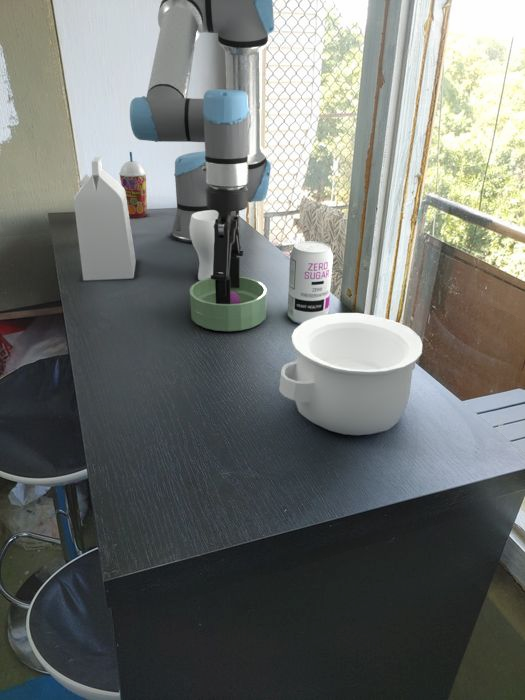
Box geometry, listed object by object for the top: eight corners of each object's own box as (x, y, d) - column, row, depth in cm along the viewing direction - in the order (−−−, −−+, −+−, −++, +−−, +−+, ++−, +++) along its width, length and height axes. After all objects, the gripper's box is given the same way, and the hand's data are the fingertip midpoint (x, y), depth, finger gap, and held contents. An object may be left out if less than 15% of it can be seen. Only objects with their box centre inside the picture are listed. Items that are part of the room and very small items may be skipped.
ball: (218, 308, 109) (218, 286, 106) (242, 310, 108) (242, 287, 106) (214, 318, 104) (213, 295, 102) (238, 320, 104) (238, 296, 101)
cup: (229, 288, 120) (229, 223, 113) (185, 283, 122) (182, 219, 114) (240, 272, 129) (240, 211, 122) (199, 268, 131) (197, 208, 124)
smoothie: (119, 218, 171) (112, 153, 161) (129, 211, 178) (123, 149, 168) (144, 219, 170) (138, 154, 160) (153, 213, 177) (148, 150, 167)
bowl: (199, 299, 114) (198, 273, 111) (269, 304, 112) (270, 277, 110) (183, 331, 101) (181, 302, 98) (261, 336, 99) (262, 307, 96)
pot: (311, 467, 67) (318, 387, 62) (257, 397, 81) (258, 327, 75) (444, 426, 76) (461, 352, 70) (374, 369, 89) (383, 303, 83)
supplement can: (305, 306, 112) (309, 237, 105) (335, 318, 107) (342, 247, 100) (279, 316, 107) (281, 245, 100) (309, 330, 102) (314, 256, 95)
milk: (133, 278, 124) (121, 163, 112) (83, 280, 122) (64, 164, 110) (135, 261, 134) (124, 155, 122) (89, 263, 133) (73, 155, 120)
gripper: (218, 172, 104) (220, 276, 115) (191, 199, 84) (197, 322, 95) (255, 174, 104) (254, 278, 114) (237, 201, 83) (238, 325, 94)
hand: (228, 298), depth 105 cm, fingers open, 11 cm apart
